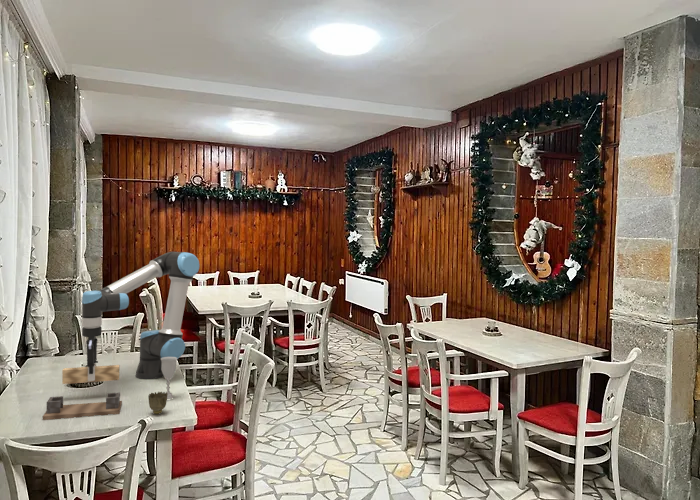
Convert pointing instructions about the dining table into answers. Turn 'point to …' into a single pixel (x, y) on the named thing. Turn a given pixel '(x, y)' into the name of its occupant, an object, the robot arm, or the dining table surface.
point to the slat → (82, 374)
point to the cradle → (82, 408)
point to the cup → (157, 401)
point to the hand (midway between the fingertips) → (92, 379)
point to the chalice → (168, 371)
